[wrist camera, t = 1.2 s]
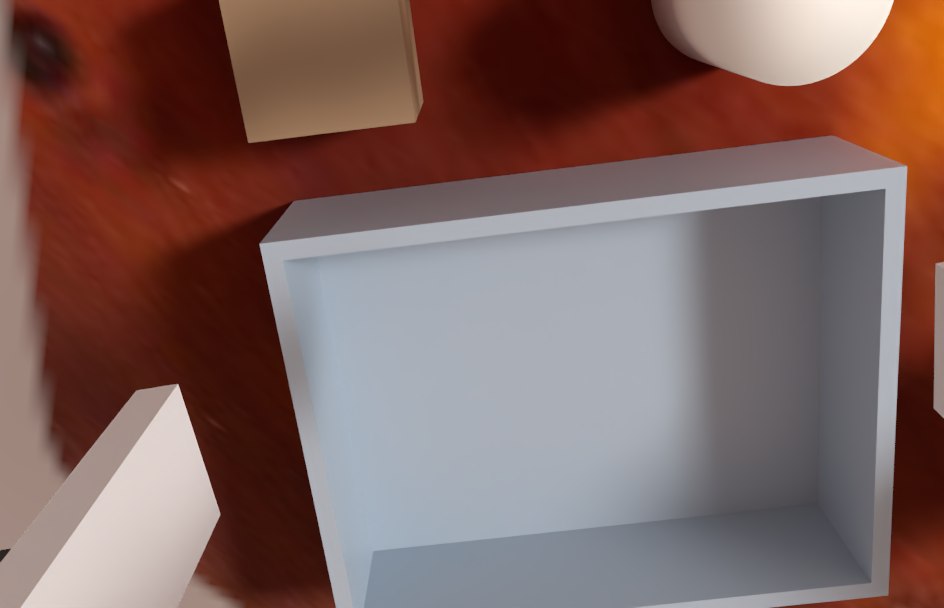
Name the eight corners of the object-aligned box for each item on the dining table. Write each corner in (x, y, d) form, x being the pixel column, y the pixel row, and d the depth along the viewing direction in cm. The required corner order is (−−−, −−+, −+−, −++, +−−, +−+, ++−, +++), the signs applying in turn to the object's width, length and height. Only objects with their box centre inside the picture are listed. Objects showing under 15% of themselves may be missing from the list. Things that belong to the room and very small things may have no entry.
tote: (293, 200, 32) (259, 243, 27) (832, 135, 31) (907, 166, 26) (362, 556, 37) (345, 651, 32) (827, 506, 36) (888, 595, 31)
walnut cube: (252, -34, 29) (211, -36, 25) (402, -53, 29) (389, -61, 24) (281, 119, 31) (248, 143, 26) (423, 101, 31) (415, 122, 26)
